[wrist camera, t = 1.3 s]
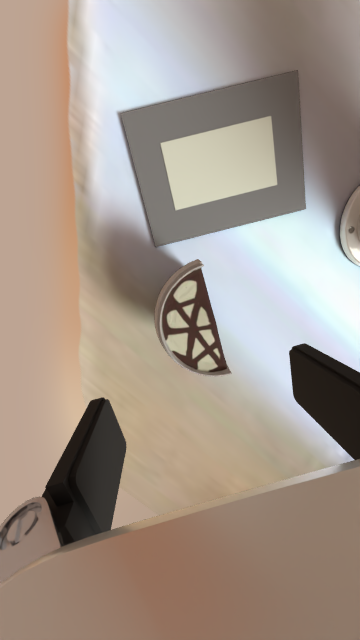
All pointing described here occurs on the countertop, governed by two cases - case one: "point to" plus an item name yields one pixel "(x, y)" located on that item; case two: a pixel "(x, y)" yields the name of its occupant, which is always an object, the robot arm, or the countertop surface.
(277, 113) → the mat
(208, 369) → the food container
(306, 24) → the countertop surface
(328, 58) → the countertop surface
